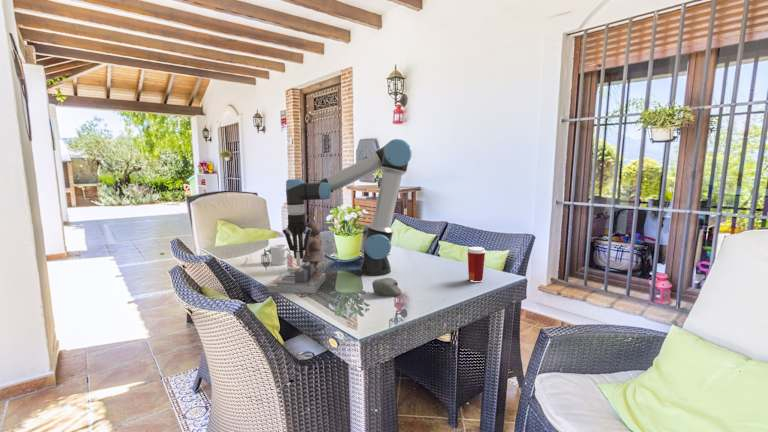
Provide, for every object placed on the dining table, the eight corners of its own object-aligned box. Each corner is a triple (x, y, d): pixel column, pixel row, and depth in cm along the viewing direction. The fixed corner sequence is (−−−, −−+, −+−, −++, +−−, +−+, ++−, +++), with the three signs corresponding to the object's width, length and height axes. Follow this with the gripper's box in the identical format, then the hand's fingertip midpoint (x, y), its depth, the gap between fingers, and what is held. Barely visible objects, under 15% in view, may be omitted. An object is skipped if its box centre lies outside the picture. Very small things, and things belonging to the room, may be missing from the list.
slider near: (307, 280, 165) (307, 267, 164) (304, 283, 160) (303, 270, 159) (298, 280, 165) (298, 267, 164) (295, 283, 160) (294, 270, 160)
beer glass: (486, 279, 175) (487, 247, 173) (483, 284, 168) (483, 251, 166) (468, 277, 178) (468, 245, 177) (464, 282, 171) (464, 249, 169)
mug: (286, 266, 200) (286, 248, 199) (268, 264, 205) (267, 246, 204) (296, 263, 208) (295, 245, 206) (278, 261, 212) (277, 243, 211)
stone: (398, 298, 150) (387, 276, 150) (379, 307, 153) (368, 284, 153) (403, 291, 159) (392, 270, 159) (385, 299, 161) (374, 278, 162)
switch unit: (325, 279, 177) (325, 270, 177) (314, 293, 158) (314, 284, 157) (283, 278, 179) (283, 270, 178) (267, 292, 159) (267, 283, 158)
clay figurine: (314, 274, 186) (312, 223, 183) (297, 272, 190) (295, 222, 187) (328, 267, 198) (327, 220, 195) (312, 265, 202) (310, 219, 199)
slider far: (313, 273, 175) (313, 261, 174) (310, 277, 170) (310, 264, 169) (305, 273, 175) (304, 261, 174) (301, 276, 170) (301, 264, 169)
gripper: (312, 212, 172) (315, 263, 175) (284, 213, 173) (288, 263, 176) (308, 214, 165) (311, 267, 168) (279, 215, 166) (282, 267, 169)
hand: (299, 265), depth 172 cm, fingers closed
